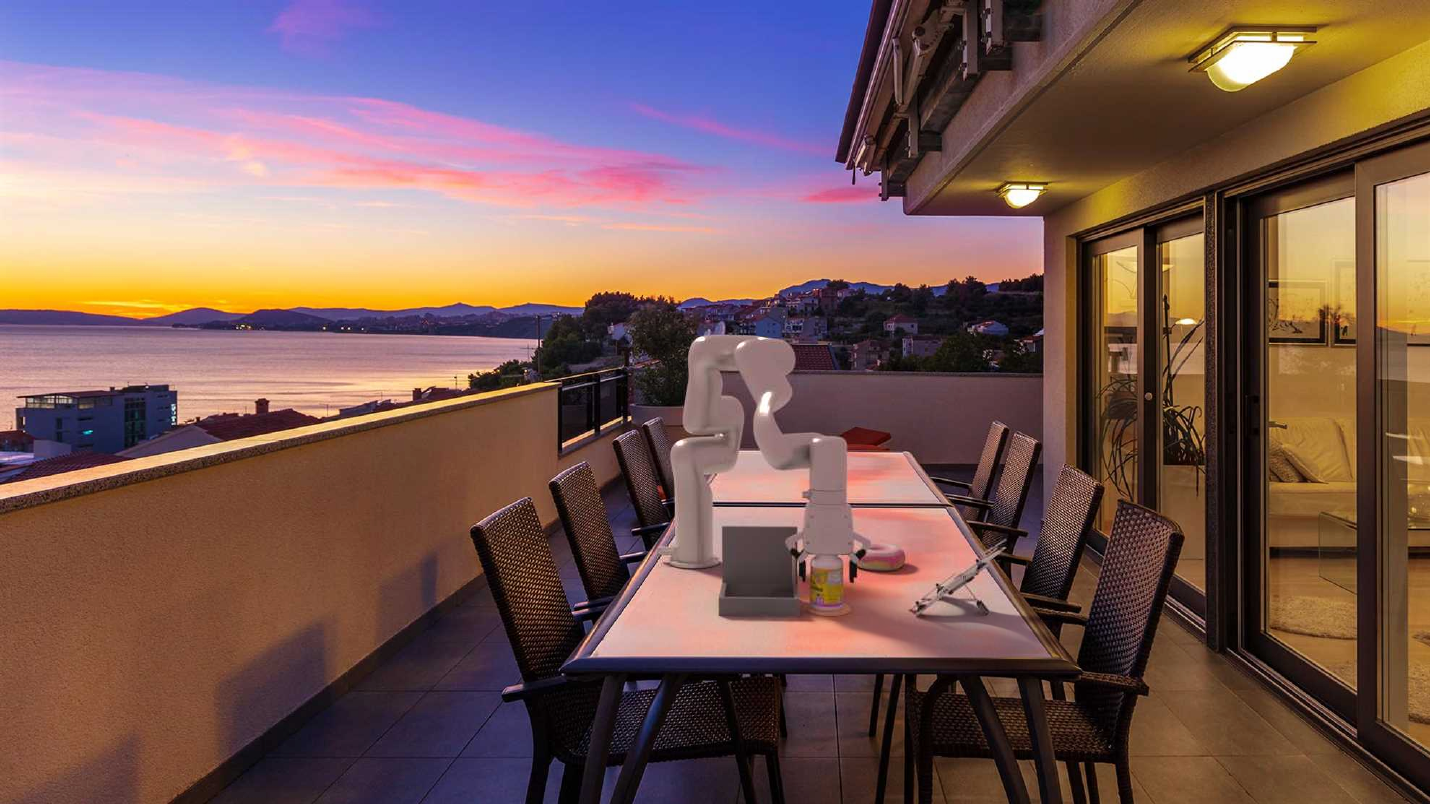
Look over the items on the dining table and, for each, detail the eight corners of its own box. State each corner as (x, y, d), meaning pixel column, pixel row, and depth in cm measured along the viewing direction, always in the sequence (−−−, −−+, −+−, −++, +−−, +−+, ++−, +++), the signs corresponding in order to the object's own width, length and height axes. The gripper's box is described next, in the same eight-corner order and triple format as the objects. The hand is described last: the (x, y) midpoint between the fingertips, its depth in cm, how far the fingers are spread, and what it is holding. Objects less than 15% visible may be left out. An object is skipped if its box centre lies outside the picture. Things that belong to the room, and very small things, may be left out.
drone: (1042, 570, 171) (1010, 530, 174) (1023, 597, 151) (987, 552, 154) (957, 627, 180) (927, 588, 183) (928, 660, 161) (896, 616, 163)
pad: (806, 616, 165) (806, 614, 165) (804, 603, 174) (804, 601, 174) (852, 616, 165) (852, 614, 165) (848, 603, 174) (848, 601, 174)
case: (718, 615, 166) (718, 538, 165) (722, 597, 179) (722, 525, 178) (799, 616, 165) (799, 539, 164) (797, 598, 178) (797, 526, 177)
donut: (849, 572, 200) (849, 551, 200) (850, 559, 214) (850, 540, 213) (906, 574, 198) (906, 553, 198) (904, 561, 211) (904, 541, 211)
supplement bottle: (804, 604, 172) (804, 543, 171) (832, 601, 174) (833, 540, 173) (819, 613, 165) (819, 550, 165) (849, 610, 168) (849, 547, 167)
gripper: (785, 500, 165) (785, 585, 166) (873, 500, 164) (872, 586, 165) (784, 494, 173) (784, 575, 174) (869, 494, 172) (868, 576, 172)
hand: (827, 580), depth 169 cm, fingers open, 9 cm apart
